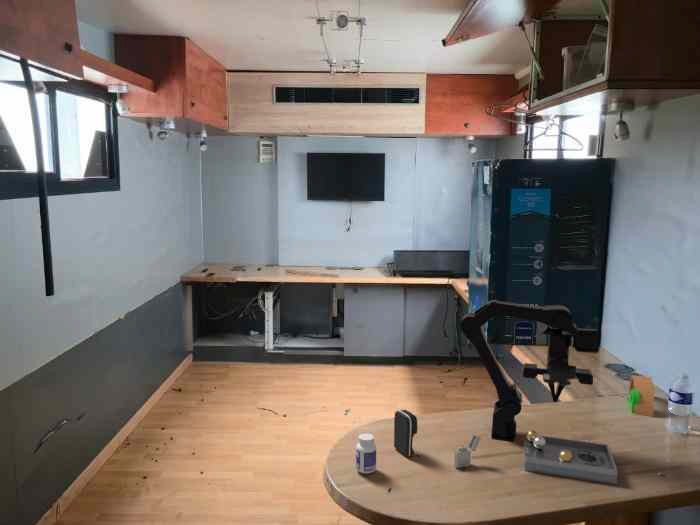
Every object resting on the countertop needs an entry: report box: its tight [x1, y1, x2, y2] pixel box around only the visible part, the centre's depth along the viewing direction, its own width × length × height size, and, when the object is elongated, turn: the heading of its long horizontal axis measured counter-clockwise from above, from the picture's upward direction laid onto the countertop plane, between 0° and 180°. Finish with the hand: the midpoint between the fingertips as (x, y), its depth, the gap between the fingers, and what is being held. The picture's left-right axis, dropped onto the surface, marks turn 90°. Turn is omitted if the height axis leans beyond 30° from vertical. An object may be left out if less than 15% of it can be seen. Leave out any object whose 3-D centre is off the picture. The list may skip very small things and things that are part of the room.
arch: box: [628, 374, 655, 418], centre depth 183 cm, size 6×20×10 cm, turn 156°
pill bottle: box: [355, 433, 377, 474], centre depth 139 cm, size 5×5×9 cm
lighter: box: [453, 433, 482, 469], centre depth 142 cm, size 7×2×8 cm, turn 111°
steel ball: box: [533, 435, 546, 449], centre depth 147 cm, size 3×3×3 cm
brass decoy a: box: [526, 429, 539, 442], centre depth 151 cm, size 3×3×3 cm
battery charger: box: [393, 409, 418, 457], centre depth 149 cm, size 7×4×11 cm, turn 30°
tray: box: [523, 432, 619, 486], centre depth 143 cm, size 22×15×4 cm
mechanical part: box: [626, 389, 640, 415], centre depth 180 cm, size 12×6×8 cm, turn 159°
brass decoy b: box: [559, 450, 573, 463], centre depth 139 cm, size 3×3×3 cm
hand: (554, 401), depth 154 cm, fingers closed
